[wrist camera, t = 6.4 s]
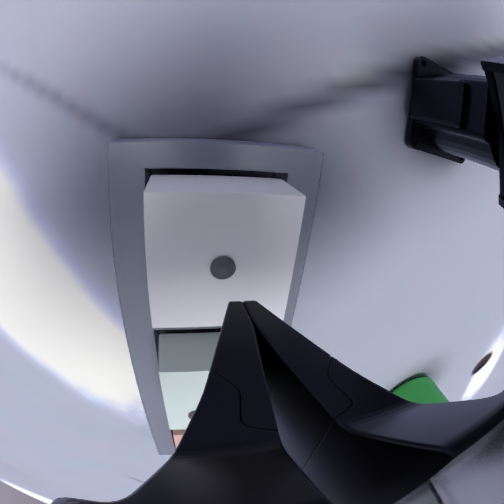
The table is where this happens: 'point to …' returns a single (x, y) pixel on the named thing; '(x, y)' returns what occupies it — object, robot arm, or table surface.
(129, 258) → the board
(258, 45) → the table surface
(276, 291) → the tile
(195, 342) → the tile
